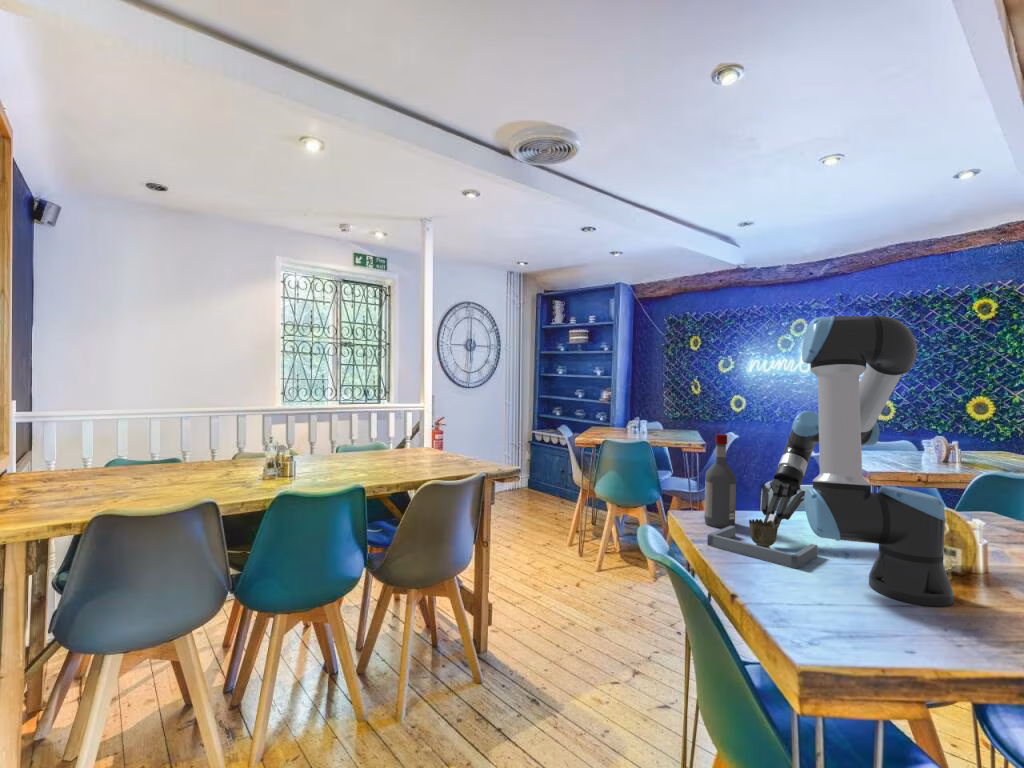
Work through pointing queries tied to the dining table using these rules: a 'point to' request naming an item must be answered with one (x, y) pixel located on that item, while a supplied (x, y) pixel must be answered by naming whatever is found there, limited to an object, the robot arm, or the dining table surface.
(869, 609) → the dining table surface
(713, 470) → the liquor
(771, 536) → the cup
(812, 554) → the corral
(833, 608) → the dining table surface
